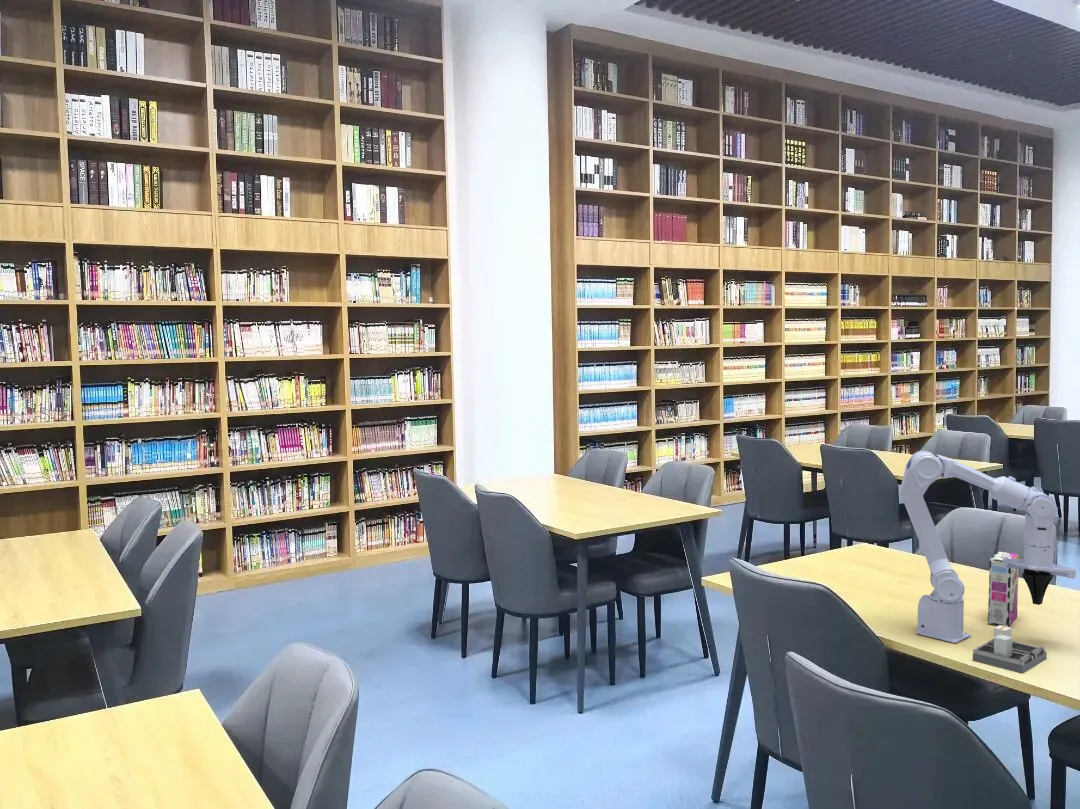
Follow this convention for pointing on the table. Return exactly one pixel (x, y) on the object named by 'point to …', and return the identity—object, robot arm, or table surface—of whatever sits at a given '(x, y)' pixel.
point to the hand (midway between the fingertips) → (1037, 603)
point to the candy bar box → (1002, 591)
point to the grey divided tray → (1019, 660)
